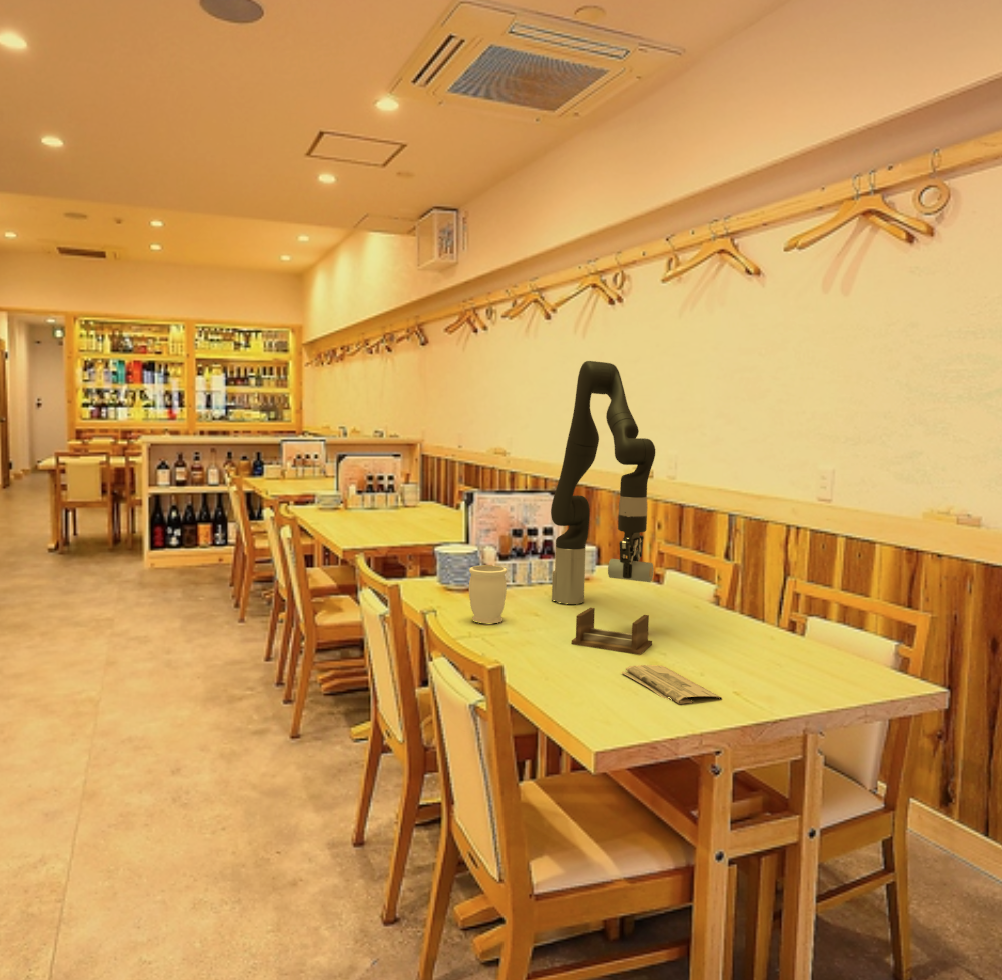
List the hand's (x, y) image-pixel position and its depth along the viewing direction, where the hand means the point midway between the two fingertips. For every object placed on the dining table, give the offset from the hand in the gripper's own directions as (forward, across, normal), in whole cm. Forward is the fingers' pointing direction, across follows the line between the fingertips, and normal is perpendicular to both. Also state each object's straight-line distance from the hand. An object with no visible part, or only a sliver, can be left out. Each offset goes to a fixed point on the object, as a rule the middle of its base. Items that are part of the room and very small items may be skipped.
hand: (630, 575), depth 214 cm
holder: (+15, +14, 0) cm, 21 cm away
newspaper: (+16, +38, +21) cm, 46 cm away
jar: (+16, +10, -38) cm, 42 cm away
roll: (+1, 0, 0) cm, 1 cm away
